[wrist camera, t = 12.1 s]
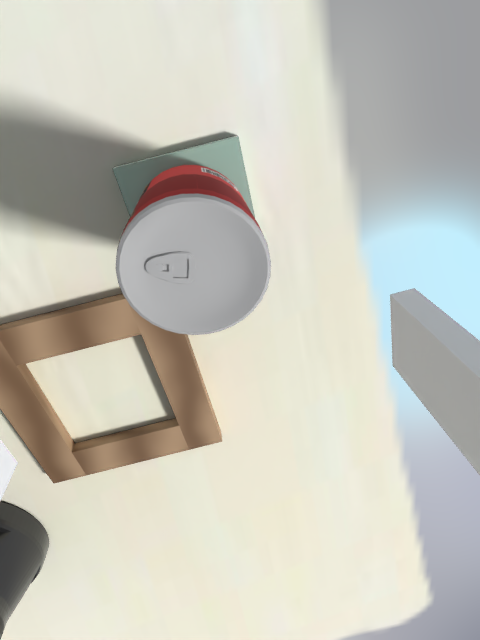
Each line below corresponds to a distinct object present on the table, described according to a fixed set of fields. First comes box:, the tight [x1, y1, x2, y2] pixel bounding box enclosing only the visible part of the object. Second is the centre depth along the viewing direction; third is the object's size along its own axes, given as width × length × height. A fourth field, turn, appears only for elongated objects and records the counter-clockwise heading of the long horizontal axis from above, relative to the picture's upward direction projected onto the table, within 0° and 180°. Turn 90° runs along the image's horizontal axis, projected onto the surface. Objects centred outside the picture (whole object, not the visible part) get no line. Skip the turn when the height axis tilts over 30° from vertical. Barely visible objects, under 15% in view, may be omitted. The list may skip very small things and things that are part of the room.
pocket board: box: [0, 294, 222, 483], centre depth 37 cm, size 18×18×1 cm
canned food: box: [116, 165, 271, 335], centre depth 25 cm, size 8×8×11 cm
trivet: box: [113, 135, 255, 218], centre depth 30 cm, size 9×9×1 cm
